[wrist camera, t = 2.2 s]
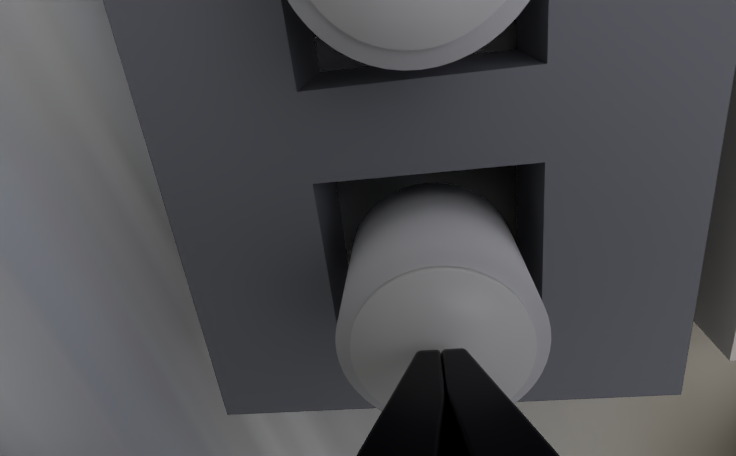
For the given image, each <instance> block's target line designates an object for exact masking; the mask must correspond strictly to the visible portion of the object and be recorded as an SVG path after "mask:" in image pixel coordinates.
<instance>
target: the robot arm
mask: <svg viewBox="0 0 736 456" xmlns="http://www.w3.org/2000/svg"><path fill="white" fill-rule="evenodd" d="M441 355H442V356H441ZM357 456H559V455H558V453H557V452H556V451H555V450H554V449H553V448H552V447H551V445H550V444H549V443H548V442H547V441H546V440H545V439H544V437H543V436H542V435H541V434H540V433H539V432H538V431H537V430H536V428H535V427H534V426H533V425H532V424H531V423H530V422H529V420H528V419H527V418H526V417H525V416H524V415H523V414H522V412H521V411H520V410H519V409H518V408H517V407H516V406H515V405H514V403H513V402H512V401H511V400H510V399H509V398H508V397H507V395H506V394H505V393H504V392H503V391H502V390H501V389H500V388H499V386H498V385H497V384H496V383H495V382H494V381H493V380H492V378H491V377H490V376H489V375H488V374H487V373H486V372H485V370H484V369H483V368H482V367H481V366H480V365H479V364H478V363H477V361H476V360H475V359H474V358H473V357H472V356H471V355H470V353H469V352H468V351H467V350H466V349H464V348H454V349H444V350H442V353H441V352H440V351H439V350H420V351H418V352H416V354H415V356H414V357H413V359H412V361H411V362H410V364H409V366H408V368H407V369H406V371H405V373H404V375H403V376H402V378H401V380H400V381H399V383H398V385H397V387H396V388H395V390H394V392H393V394H392V395H391V397H390V399H389V400H388V402H387V404H386V406H385V407H384V409H383V411H382V413H381V414H380V416H379V418H378V420H377V421H376V423H375V425H374V426H373V428H372V430H371V432H370V433H369V435H368V437H367V439H366V440H365V442H364V444H363V445H362V447H361V449H360V451H359V452H358V454H357Z"/></svg>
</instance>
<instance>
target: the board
mask: <svg viewBox="0 0 736 456" xmlns="http://www.w3.org/2000/svg"><path fill="white" fill-rule="evenodd" d="M103 2H104V5H105V9H106V12H107V15H108V19H109V22H110V25H111V29H112V32H113V35H114V39H115V42H116V45H117V49H118V52H119V55H120V59H121V62H122V65H123V69H124V72H125V75H126V79H127V82H128V85H129V89H130V92H131V95H132V99H133V102H134V105H135V109H136V112H137V115H138V119H139V122H140V125H141V128H142V132H143V135H144V138H145V142H146V145H147V148H148V152H149V155H150V158H151V162H152V165H153V168H154V172H155V175H156V178H157V182H158V185H159V188H160V192H161V195H162V198H163V202H164V205H165V208H166V212H167V215H168V218H169V222H170V225H171V228H172V232H173V235H174V238H175V242H176V245H177V248H178V252H179V255H180V258H181V262H182V265H183V268H184V272H185V275H186V278H187V282H188V285H189V288H190V291H191V295H192V298H193V301H194V305H195V308H196V311H197V315H198V318H199V321H200V325H201V328H202V331H203V335H204V338H205V341H206V345H207V348H208V351H209V355H210V358H211V361H212V365H213V368H214V371H215V375H216V378H217V381H218V385H219V388H220V391H221V395H222V398H223V401H224V405H225V408H226V411H227V415H230V414H253V413H275V412H298V411H320V410H343V409H365V408H376V407H374V406H373V405H372V404H370V403H369V402H368V401H366V400H365V399H364V398H363V397H362V396H361V395H360V394H359V393H358V392H357V391H356V390H355V389H354V388H353V386H352V385H351V384H350V383H349V381H348V379H347V378H346V376H345V375H344V373H343V371H342V368H341V366H340V363H339V360H338V356H337V352H336V344H335V335H336V326H337V321H338V316H339V311H340V307H341V302H342V297H343V292H344V287H345V282H346V277H347V272H348V261H347V254H346V247H345V241H344V234H343V228H342V221H341V215H340V208H339V201H338V195H337V188H336V182H339V181H350V180H361V179H371V178H382V177H393V176H404V175H415V174H425V173H436V172H447V171H458V170H468V169H479V168H490V167H501V166H512V165H517V247H518V249H519V252H520V254H521V256H522V258H523V260H524V262H525V265H526V267H527V269H528V271H529V273H530V276H531V278H532V280H533V282H534V284H535V287H536V289H537V291H538V293H539V295H540V298H541V300H542V302H543V304H544V307H545V309H546V312H547V314H548V317H549V322H550V326H551V347H550V353H549V356H548V360H547V363H546V365H545V367H544V370H543V372H542V374H541V375H540V377H539V378H538V380H537V382H536V383H535V384H534V385H533V387H532V388H531V389H530V390H529V391H528V392H527V393H526V394H525V395H524V396H523V397H522V398H521V399H520V400H519V401H517V402H523V401H545V400H568V399H590V398H613V397H635V396H658V395H680V394H681V392H682V386H683V380H684V374H685V368H686V361H687V355H688V349H689V343H690V337H691V331H692V325H693V319H694V313H695V307H696V301H697V295H698V289H699V283H700V277H701V271H702V265H703V259H704V253H705V247H706V241H707V235H708V229H709V223H710V217H711V211H712V205H713V199H714V193H715V186H716V180H717V174H718V168H719V162H720V156H721V150H722V144H723V138H724V132H725V126H726V120H727V114H728V108H729V102H730V96H731V90H732V84H733V78H734V72H735V66H736V0H530V1H529V2H528V4H527V5H526V6H525V8H524V9H523V10H522V12H521V13H520V14H519V16H518V17H517V18H516V50H509V51H500V52H491V53H483V54H474V55H468V56H466V57H463V58H461V59H459V60H457V61H454V62H451V63H448V64H445V65H442V66H439V67H434V68H428V69H423V70H406V71H402V70H391V69H383V68H379V67H375V66H371V67H363V68H354V69H345V70H337V71H328V72H320V73H319V70H318V63H317V57H316V50H315V44H314V37H313V31H311V30H310V29H309V28H308V27H307V26H306V24H305V23H304V22H303V21H302V20H301V18H300V17H299V16H298V15H297V14H296V12H295V11H294V10H293V8H292V6H291V5H290V3H289V2H288V0H103Z"/></svg>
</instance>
